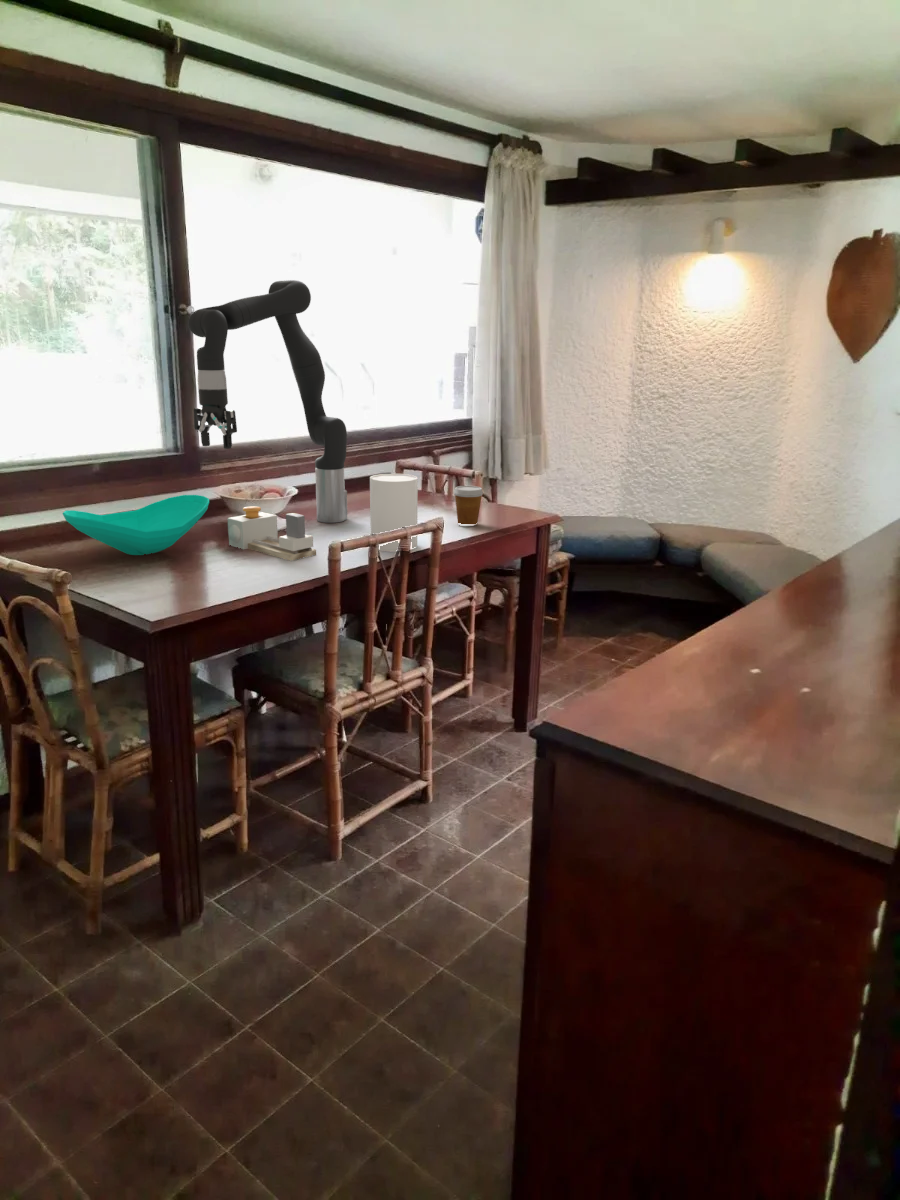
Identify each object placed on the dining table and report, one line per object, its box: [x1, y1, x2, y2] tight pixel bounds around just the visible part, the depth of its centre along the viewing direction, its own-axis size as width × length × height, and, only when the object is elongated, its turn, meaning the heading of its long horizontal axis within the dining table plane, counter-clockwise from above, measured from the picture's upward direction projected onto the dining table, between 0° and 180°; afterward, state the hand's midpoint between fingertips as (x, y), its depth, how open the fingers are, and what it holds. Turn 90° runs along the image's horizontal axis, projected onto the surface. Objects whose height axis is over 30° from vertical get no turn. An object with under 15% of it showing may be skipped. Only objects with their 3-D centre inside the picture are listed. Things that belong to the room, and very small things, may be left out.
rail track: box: [247, 537, 317, 562], centre depth 233 cm, size 9×19×2 cm, turn 49°
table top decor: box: [62, 494, 210, 556], centre depth 229 cm, size 40×28×13 cm
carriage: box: [278, 512, 314, 551], centre depth 227 cm, size 7×6×9 cm
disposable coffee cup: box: [453, 485, 484, 524], centre depth 269 cm, size 10×10×12 cm
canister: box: [369, 473, 419, 553], centre depth 239 cm, size 14×14×20 cm
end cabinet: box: [226, 511, 279, 550], centre depth 240 cm, size 12×7×8 cm, turn 139°
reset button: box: [242, 506, 262, 519], centre depth 239 cm, size 5×5×4 cm
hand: (216, 447), depth 231 cm, fingers open, 8 cm apart
